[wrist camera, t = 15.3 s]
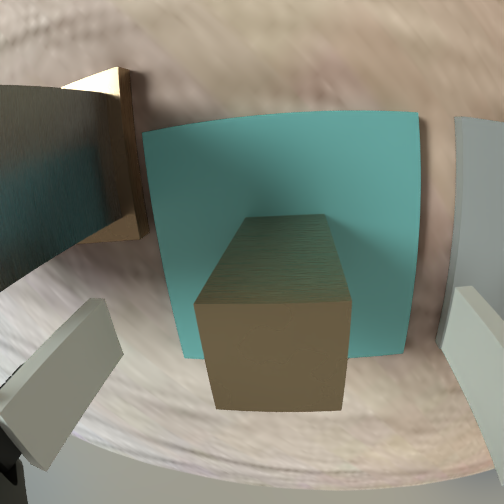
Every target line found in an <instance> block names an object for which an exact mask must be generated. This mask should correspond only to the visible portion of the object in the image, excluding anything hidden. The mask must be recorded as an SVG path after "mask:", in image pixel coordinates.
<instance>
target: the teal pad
mask: <svg viewBox="0 0 504 504" xmlns="http://www.w3.org/2000/svg"><path fill="white" fill-rule="evenodd" d="M142 138H143V146H144V154H145V162H146V170H147V177H148V184H149V190H150V197H151V203H152V209H153V215H154V221H155V227H156V232H157V238H158V243H159V248H160V254H161V259H162V264H163V269H164V274H165V278H166V283H167V288H168V292H169V297H170V301H171V306H172V310H173V314H174V318H175V323H176V327H177V331H178V335H179V339H180V343H181V347H182V350H183V354H184V358H192V359H204V354H203V350H202V345H201V340H200V335H199V330H198V326H197V321H196V315H195V310H194V305H193V304H194V302H195V300H196V299H197V297H198V295H199V294H200V292H201V290H202V289H203V287H204V285H205V284H206V282H207V280H208V278H209V277H210V275H211V273H212V272H213V270H214V268H215V267H216V265H217V263H218V262H219V260H220V258H221V257H222V255H223V254H224V252H225V250H226V249H227V247H228V245H229V244H230V242H231V240H232V239H233V237H234V235H235V234H236V232H237V230H238V229H239V227H240V226H241V224H242V222H243V221H244V219H245V217H263V216H284V215H308V214H325V216H326V219H327V222H328V225H329V228H330V231H331V234H332V237H333V240H334V243H335V246H336V250H337V253H338V256H339V259H340V262H341V265H342V269H343V272H344V275H345V278H346V282H347V285H348V289H349V292H350V295H351V299H352V312H351V326H350V338H349V349H348V358H357V357H370V356H382V355H393V354H402V353H403V351H404V346H405V341H406V336H407V330H408V324H409V318H410V312H411V305H412V298H413V290H414V282H415V273H416V264H417V253H418V240H419V223H420V195H421V161H420V134H419V118H418V113H417V112H398V111H313V112H294V113H279V114H266V115H255V116H246V117H236V118H228V119H220V120H213V121H206V122H199V123H192V124H186V125H180V126H174V127H169V128H163V129H158V130H153V131H148V132H143V133H142Z"/></svg>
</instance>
